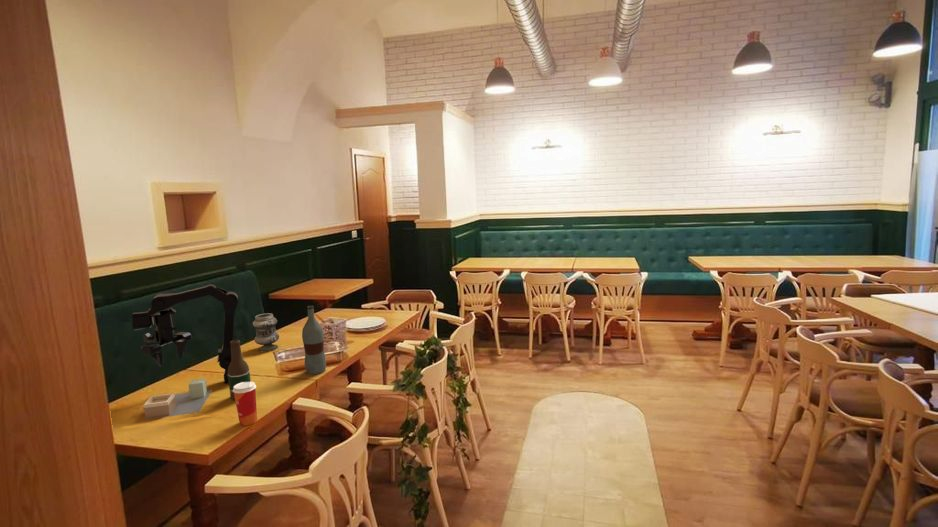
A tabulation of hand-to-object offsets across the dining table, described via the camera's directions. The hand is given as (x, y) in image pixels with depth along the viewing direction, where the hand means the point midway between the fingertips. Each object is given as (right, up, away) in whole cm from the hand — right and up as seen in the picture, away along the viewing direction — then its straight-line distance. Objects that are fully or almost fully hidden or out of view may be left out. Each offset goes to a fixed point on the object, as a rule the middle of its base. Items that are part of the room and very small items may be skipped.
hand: (170, 362), depth 204 cm
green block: (+13, -13, -3) cm, 18 cm away
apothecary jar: (+17, -4, +56) cm, 59 cm away
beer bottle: (+31, -14, -5) cm, 35 cm away
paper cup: (+43, -16, -26) cm, 53 cm away
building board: (+10, -15, -10) cm, 20 cm away
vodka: (+53, -8, +22) cm, 58 cm away
